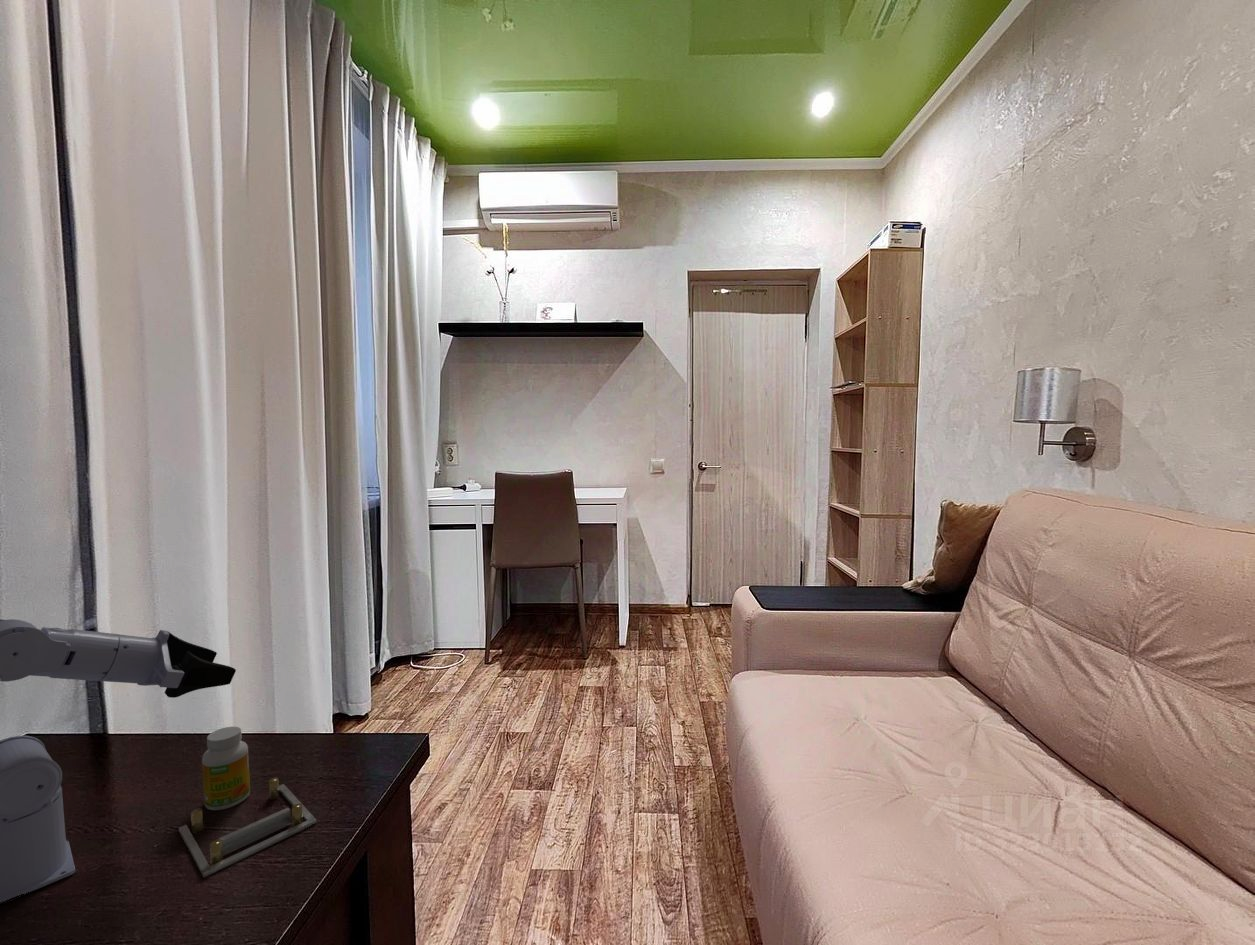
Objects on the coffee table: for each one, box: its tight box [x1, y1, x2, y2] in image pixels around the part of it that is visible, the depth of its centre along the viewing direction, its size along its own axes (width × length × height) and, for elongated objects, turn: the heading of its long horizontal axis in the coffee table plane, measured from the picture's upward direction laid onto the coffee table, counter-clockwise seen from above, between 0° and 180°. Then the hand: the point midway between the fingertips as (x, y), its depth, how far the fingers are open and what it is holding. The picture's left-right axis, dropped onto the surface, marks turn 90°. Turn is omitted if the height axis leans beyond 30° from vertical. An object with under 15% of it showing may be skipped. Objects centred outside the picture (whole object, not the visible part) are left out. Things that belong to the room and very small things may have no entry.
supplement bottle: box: [201, 726, 251, 811], centre depth 82 cm, size 5×5×10 cm
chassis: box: [178, 777, 317, 878], centre depth 76 cm, size 12×12×2 cm
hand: (222, 667), depth 84 cm, fingers open, 7 cm apart
